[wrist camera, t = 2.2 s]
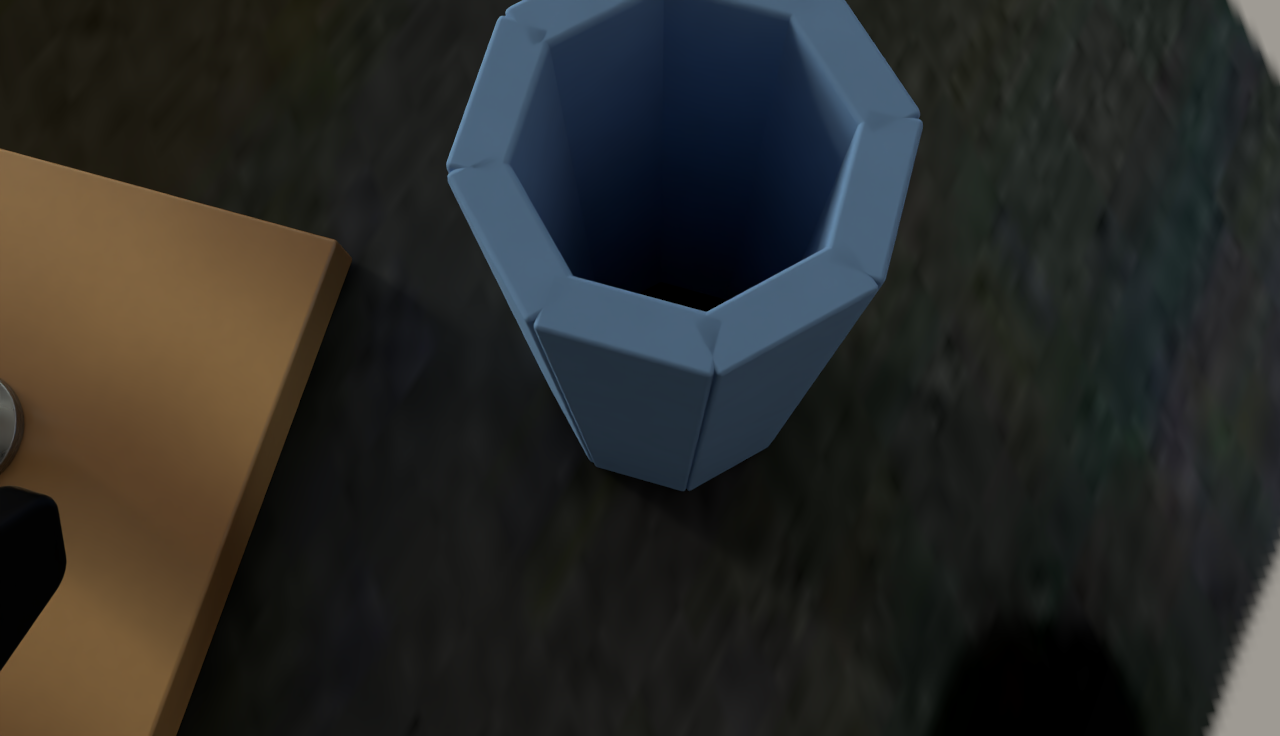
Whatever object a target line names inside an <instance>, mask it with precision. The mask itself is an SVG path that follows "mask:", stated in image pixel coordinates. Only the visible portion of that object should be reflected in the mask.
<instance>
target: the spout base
mask: <svg viewBox="0 0 1280 736" xmlns="http://www.w3.org/2000/svg"><path fill="white" fill-rule="evenodd" d="M351 261H352V258H351V257H350V255H349V254H348V253H347V252H346V251H345V250H344V249H343V247H342V246H341V245H340V244H339V243H338V242H337V241H336V240H334V239H330V238H326V237H323V236H319V235H315V234H312V233H308V232H304V231H301V230H297V229H293V228H290V227H286V226H282V225H279V224H275V223H271V222H268V221H264V220H260V219H257V218H253V217H249V216H246V215H242V214H238V213H235V212H231V211H227V210H224V209H220V208H216V207H213V206H209V205H205V204H202V203H198V202H194V201H191V200H187V199H183V198H180V197H176V196H172V195H169V194H165V193H161V192H158V191H154V190H150V189H147V188H143V187H139V186H136V185H132V184H128V183H125V182H121V181H117V180H114V179H110V178H106V177H103V176H99V175H95V174H92V173H88V172H84V171H81V170H77V169H73V168H70V167H66V166H62V165H59V164H55V163H51V162H48V161H44V160H40V159H37V158H33V157H29V156H26V155H22V154H18V153H15V152H11V151H7V150H4V149H0V487H2V486H7V485H13V486H19V487H22V488H26V489H29V490H32V491H35V492H39V493H42V494H45V495H48V496H50V497H51V498H52V499H53V500H54V501H55V502H56V504H57V506H58V509H59V515H60V521H61V527H62V534H63V540H64V546H65V552H66V560H67V563H66V570H65V574H64V577H63V579H62V581H61V584H60V586H59V587H58V589H57V591H56V592H55V593H54V595H53V596H52V598H51V599H50V601H49V602H48V604H47V605H46V606H45V608H44V609H43V611H42V612H41V614H40V615H39V616H38V618H37V619H36V621H35V622H34V624H33V625H32V627H31V628H30V629H29V631H28V632H27V634H26V635H25V637H24V638H23V640H22V641H21V642H20V644H19V645H18V647H17V648H16V650H15V651H14V653H13V654H12V655H11V657H10V658H9V660H8V661H7V663H6V664H5V666H4V667H3V668H2V670H1V671H0V736H176V735H177V732H178V730H179V727H180V724H181V721H182V719H183V716H184V713H185V711H186V708H187V705H188V702H189V700H190V697H191V694H192V692H193V689H194V686H195V684H196V681H197V678H198V675H199V673H200V670H201V667H202V665H203V662H204V659H205V656H206V654H207V651H208V648H209V646H210V643H211V640H212V638H213V635H214V632H215V629H216V627H217V624H218V621H219V619H220V616H221V613H222V610H223V608H224V605H225V602H226V600H227V597H228V594H229V592H230V589H231V586H232V583H233V581H234V578H235V575H236V573H237V570H238V567H239V564H240V562H241V559H242V556H243V554H244V551H245V548H246V546H247V543H248V540H249V537H250V535H251V532H252V529H253V527H254V524H255V521H256V518H257V516H258V513H259V510H260V508H261V505H262V502H263V500H264V497H265V494H266V491H267V489H268V486H269V483H270V481H271V478H272V475H273V472H274V470H275V467H276V464H277V462H278V459H279V456H280V454H281V451H282V448H283V445H284V443H285V440H286V437H287V435H288V432H289V429H290V426H291V424H292V421H293V418H294V416H295V413H296V410H297V408H298V405H299V402H300V399H301V397H302V394H303V391H304V389H305V386H306V383H307V380H308V378H309V375H310V372H311V370H312V367H313V364H314V362H315V359H316V356H317V353H318V351H319V348H320V345H321V343H322V340H323V337H324V334H325V332H326V329H327V326H328V324H329V321H330V318H331V316H332V313H333V310H334V307H335V305H336V302H337V299H338V297H339V294H340V291H341V288H342V286H343V283H344V280H345V278H346V275H347V272H348V270H349V267H350V264H351Z"/></svg>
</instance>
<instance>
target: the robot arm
mask: <svg viewBox="0 0 1280 736" xmlns="http://www.w3.org/2000/svg"><path fill="white" fill-rule="evenodd" d="M66 563H67V560H66V552H65V546H64V540H63V534H62V527H61V521H60V515H59V509H58V506H57V504H56V502H55V501H54V500H53V499H52V498H51V497H50V496H48V495H45V494H42V493H39V492H35V491H32V490H29V489H26V488H22V487H19V486H13V485H7V486H2V487H0V671H1V670H2V668H3V667H4V666H5V664H6V663H7V661H8V660H9V658H10V657H11V655H12V654H13V653H14V651H15V650H16V648H17V647H18V645H19V644H20V642H21V641H22V640H23V638H24V637H25V635H26V634H27V632H28V631H29V629H30V628H31V627H32V625H33V624H34V622H35V621H36V619H37V618H38V616H39V615H40V614H41V612H42V611H43V609H44V608H45V606H46V605H47V604H48V602H49V601H50V599H51V598H52V596H53V595H54V593H55V592H56V591H57V589H58V587H59V586H60V584H61V581H62V579H63V577H64V574H65V570H66Z"/></svg>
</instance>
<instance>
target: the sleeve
mask: <svg viewBox="0 0 1280 736" xmlns="http://www.w3.org/2000/svg"><path fill="white" fill-rule="evenodd" d="M919 117H920V111H919V109H918V107H917V106H916V104H915V103H914V101H913V100H912V98H911V97H910V96H909V94H908V93H907V91H906V90H905V88H904V87H903V85H902V84H901V82H900V81H899V79H898V78H897V76H896V75H895V73H894V72H893V70H892V69H891V68H890V66H889V65H888V63H887V62H886V60H885V59H884V57H883V56H882V54H881V53H880V51H879V50H878V48H877V47H876V45H875V44H874V42H873V41H872V40H871V38H870V37H869V35H868V34H867V32H866V31H865V29H864V28H863V26H862V25H861V23H860V22H859V20H858V19H857V17H856V16H855V15H854V13H853V12H852V10H851V9H850V7H849V6H848V4H847V3H846V1H845V0H522V1H520V2H518V3H516V4H514V5H512V6H510V7H509V8H508V9H507V10H506V16H500V17H499V19H498V20H497V22H496V25H495V28H494V31H493V34H492V36H491V39H490V42H489V45H488V48H487V51H486V53H485V56H484V59H483V62H482V65H481V67H480V70H479V73H478V76H477V79H476V81H475V84H474V87H473V90H472V93H471V96H470V98H469V101H468V104H467V107H466V110H465V112H464V115H463V118H462V121H461V124H460V126H459V129H458V132H457V135H456V138H455V141H454V143H453V146H452V149H451V152H450V155H449V157H448V160H447V163H446V164H447V170H448V172H449V174H448V183H449V185H450V187H451V189H452V191H453V193H454V195H455V197H456V199H457V201H458V203H459V205H460V207H461V209H462V211H463V213H464V215H465V217H466V219H467V221H468V223H469V225H470V227H471V229H472V231H473V233H474V235H475V238H476V240H477V242H478V244H479V246H480V248H481V250H482V252H483V254H484V256H485V258H486V260H487V262H488V264H489V266H490V268H491V270H492V272H493V274H494V276H495V278H496V280H497V282H498V284H499V286H500V288H501V290H502V292H503V294H504V296H505V298H506V300H507V302H508V304H509V306H510V308H511V310H512V312H513V314H514V316H515V318H516V320H517V322H518V324H519V326H520V328H521V330H522V333H523V335H524V337H525V339H526V341H527V343H528V345H529V347H530V349H531V351H532V353H533V355H534V357H535V359H536V361H537V363H538V365H539V367H540V369H541V371H542V373H543V375H544V377H545V379H546V381H547V383H548V385H549V387H550V389H551V391H552V393H553V394H554V396H555V398H556V400H557V402H558V404H559V405H560V407H561V409H562V411H563V413H564V415H565V416H566V418H567V420H568V422H569V424H570V426H571V427H572V429H573V431H574V433H575V435H576V437H577V438H578V440H579V442H580V444H581V446H582V448H583V449H584V451H585V453H586V455H587V457H588V459H589V460H590V461H591V462H594V464H595V466H596V467H599V468H602V469H606V470H609V471H613V472H616V473H620V474H623V475H627V476H630V477H634V478H637V479H641V480H645V481H648V482H652V483H655V484H659V485H662V486H666V487H669V488H673V489H676V490H680V491H685V490H686V489H687V490H688V491H690V490H692V489H694V488H696V487H698V486H699V485H701V484H703V483H705V482H707V481H708V480H710V479H712V478H714V477H715V476H717V475H719V474H721V473H723V472H724V471H726V470H728V469H730V468H732V467H733V466H735V465H737V464H739V463H741V462H742V461H744V460H746V459H748V458H749V457H751V456H753V455H755V454H757V453H758V452H760V451H762V450H764V449H766V448H767V447H768V446H769V445H770V444H771V442H772V441H773V440H774V438H775V437H776V435H777V434H778V433H779V431H780V430H781V428H782V427H783V425H784V424H785V423H786V421H787V420H788V418H789V417H790V415H791V414H792V413H793V411H794V410H795V408H796V407H797V405H798V404H799V403H800V401H801V400H802V398H803V397H804V395H805V394H806V393H807V391H808V390H809V388H810V387H811V385H812V384H813V383H814V381H815V380H816V378H817V377H818V376H819V374H820V373H821V371H822V370H823V368H824V367H825V366H826V364H827V363H828V361H829V360H830V358H831V357H832V356H833V354H834V353H835V351H836V350H837V348H838V347H839V346H840V344H841V343H842V341H843V340H844V338H845V337H846V336H847V334H848V333H849V331H850V330H851V328H852V327H853V326H854V324H855V323H856V321H857V320H858V318H859V317H860V316H861V314H862V313H863V311H864V310H865V309H866V307H867V306H868V304H869V303H870V301H871V300H872V299H873V297H874V296H875V294H876V293H877V291H878V290H879V289H880V287H881V286H882V284H883V283H884V281H885V280H886V276H887V272H888V268H889V264H890V260H891V255H892V251H893V247H894V243H895V239H896V235H897V231H898V227H899V223H900V219H901V215H902V210H903V206H904V202H905V198H906V194H907V190H908V186H909V182H910V178H911V174H912V170H913V165H914V161H915V157H916V153H917V149H918V145H919V141H920V137H921V133H922V129H923V124H922V121H921V120H919ZM660 282H662V283H666V284H670V285H673V286H677V287H681V288H684V289H688V290H692V291H696V292H699V293H703V294H707V295H710V296H714V297H718V298H722V299H725V300H727V301H726V302H724V303H722V304H720V305H718V306H717V307H715V308H713V309H711V310H709V311H707V312H704V311H701V310H697V309H693V308H690V307H686V306H682V305H679V304H675V303H671V302H667V301H664V300H660V299H656V298H653V297H649V296H645V295H642V294H639V293H641V292H643V291H645V290H647V289H649V288H651V287H653V286H654V285H656V284H658V283H660Z"/></svg>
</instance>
